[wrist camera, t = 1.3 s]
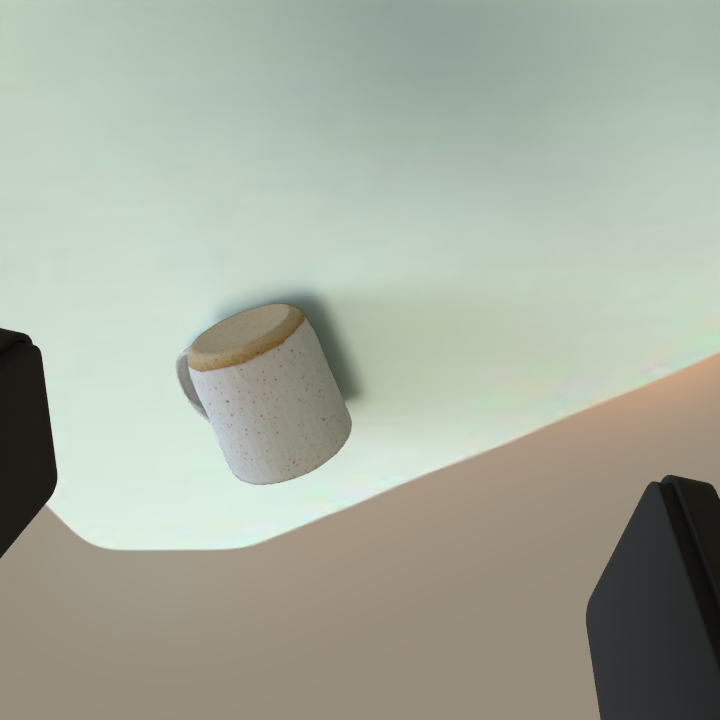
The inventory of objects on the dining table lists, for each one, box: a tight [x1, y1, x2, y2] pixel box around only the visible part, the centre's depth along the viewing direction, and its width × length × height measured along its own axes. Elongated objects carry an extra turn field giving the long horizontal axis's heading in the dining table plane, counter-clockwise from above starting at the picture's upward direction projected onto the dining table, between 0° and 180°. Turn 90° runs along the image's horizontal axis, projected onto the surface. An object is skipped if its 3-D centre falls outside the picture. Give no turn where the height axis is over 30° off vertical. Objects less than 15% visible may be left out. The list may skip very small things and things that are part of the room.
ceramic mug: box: [176, 304, 352, 485], centre depth 38 cm, size 11×8×8 cm
